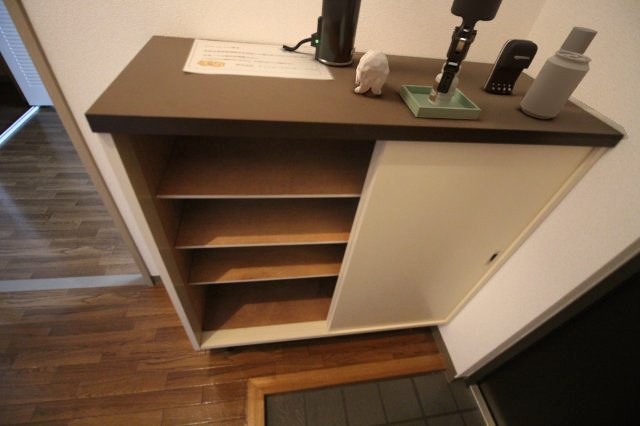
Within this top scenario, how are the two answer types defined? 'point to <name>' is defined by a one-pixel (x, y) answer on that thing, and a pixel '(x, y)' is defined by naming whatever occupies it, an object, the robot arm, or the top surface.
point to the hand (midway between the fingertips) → (443, 87)
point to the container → (578, 40)
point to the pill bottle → (442, 98)
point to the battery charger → (510, 65)
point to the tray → (422, 108)
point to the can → (555, 84)
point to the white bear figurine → (372, 72)
